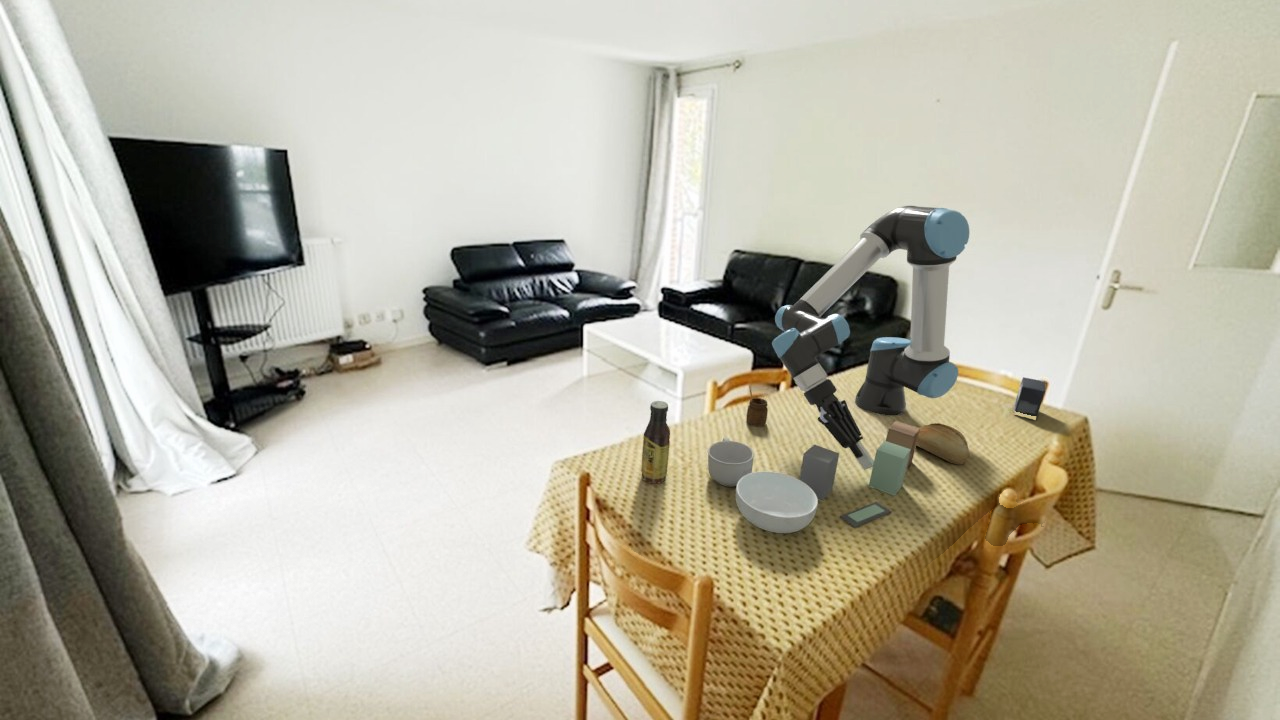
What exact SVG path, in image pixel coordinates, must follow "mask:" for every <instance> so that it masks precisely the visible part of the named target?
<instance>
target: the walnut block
mask: <svg viewBox="0 0 1280 720" xmlns="http://www.w3.org/2000/svg"><path fill="white" fill-rule="evenodd" d="M919 431H920V427H917V426H915V425H914V426H913V425H911V424H907V423H905V422H900V421H898V420H895V421H894V422H893V423H892V424H891V425H890V426H889V427H888V430H887V434H886V438H885V441H887V442H890V443H893V444H896V445H899V446H902V447H905V448H908V449H911V451H910V455H909V459H908V463H907V467H906V470H907V469H908V468H909V467H910V465H911V464H912V462H913V458H914V456H915V455H914V454H915V450H916V448H917V445H916V443H917V439H918V435H919Z"/></svg>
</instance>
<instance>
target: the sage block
mask: <svg viewBox="0 0 1280 720" xmlns="http://www.w3.org/2000/svg"><path fill="white" fill-rule="evenodd" d="M910 451H911V449H908V448H905V447H902V446H899V445H896V444H893V443H890V442H887V441H886V440H884V441H883V442H882V443H881V444H880V445H879V446H878V448H877V449H876V450H875V456H874V459H873V461H874V464H873V467H872V468H871V474H870V477H869V483H868V486H869V487H871V488H874V489H876V490H879V491H881V492H883V493H887V494H889V495H891V496H893V497H894V496H896V495H897V493H898V492H899V490H900V489H901V488H902V486H903V483H904V479H905V475H906V472H907V471H906V470H907V469H906V467H907V463H908V459H909V455H910Z"/></svg>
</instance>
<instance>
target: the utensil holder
mask: <svg viewBox="0 0 1280 720" xmlns="http://www.w3.org/2000/svg"><path fill="white" fill-rule="evenodd" d="M748 386H749V388H748V389H749V395H750V400H749V403H748V406H747V409H746V420H745V421H746V423H747V422H748V423H749V425H750V424H751V425H750V426H753V427H762V426H765V425H766V423H767V421H768V400H767V398H768V397H770V395H771V393H768V395H766V397H765V398H763V397H764V396H765V394H766V391H768V392H771V391H770V389H768V388H765V389H763V391H762V392H761V394H762V395H761V397H753V394H752V393H753V392H752V388H751V387H752V386H751V384H748ZM764 391H765V392H764Z"/></svg>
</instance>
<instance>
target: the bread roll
mask: <svg viewBox="0 0 1280 720" xmlns="http://www.w3.org/2000/svg"><path fill="white" fill-rule="evenodd" d="M919 428H920V431H919V435H918V439H917V443H916V447H919V448H921V449H923V450H925V451H927V452H930V453H931V454H934V455H936V456H937V457H939V458H941V459H943V460H945V461H946V462H948V463H951V464H953V465H963V464H966V463H967V461H968V459H969V456H970V450H969V446H968V441H967V438H965V435H963V433H961V432H960V431H959V430H957V429H956V428H954V427H952V426H950V425H947V424H944V423H939V422H937V423H936V422H935V423H930V424H926V425H923V426H919Z"/></svg>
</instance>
